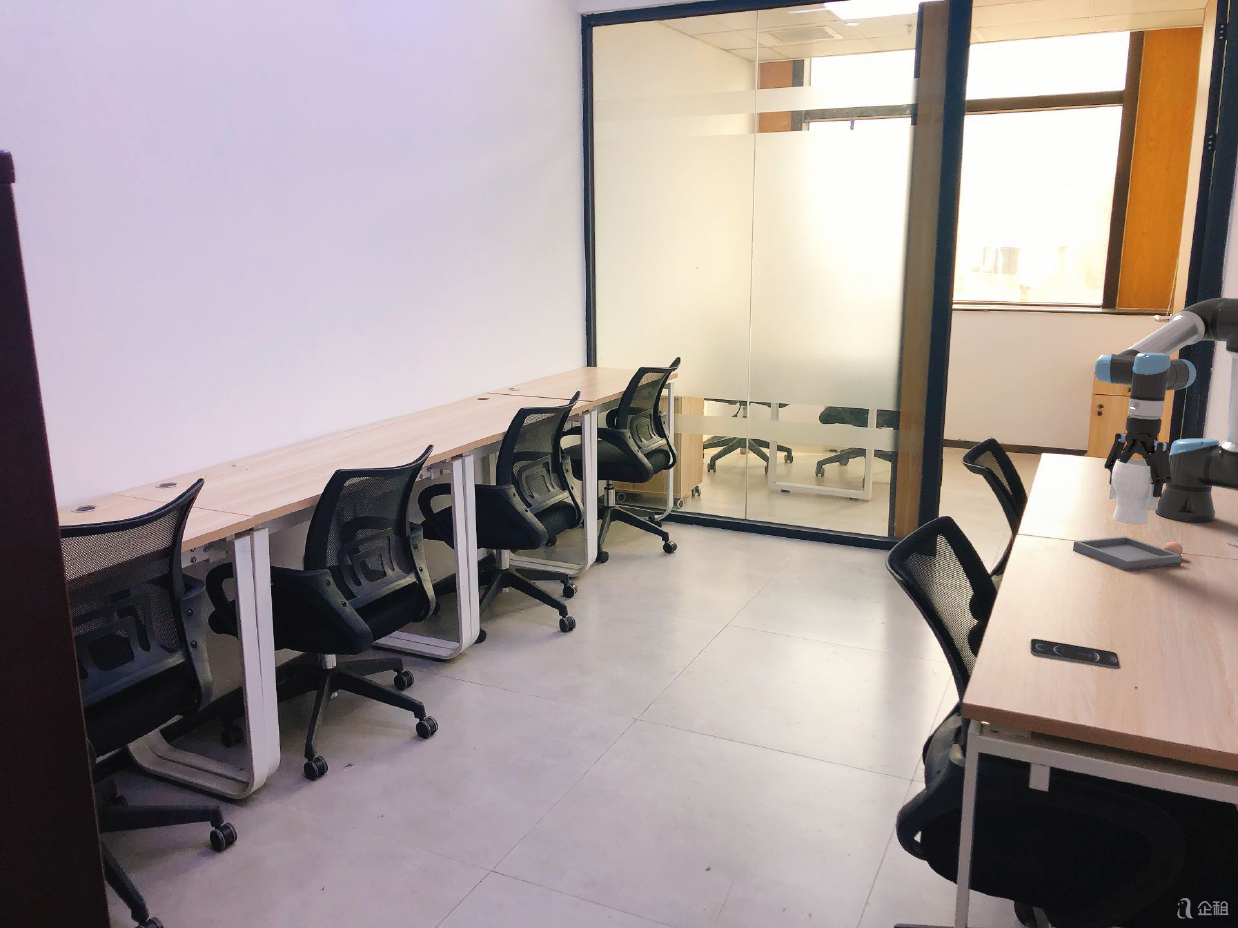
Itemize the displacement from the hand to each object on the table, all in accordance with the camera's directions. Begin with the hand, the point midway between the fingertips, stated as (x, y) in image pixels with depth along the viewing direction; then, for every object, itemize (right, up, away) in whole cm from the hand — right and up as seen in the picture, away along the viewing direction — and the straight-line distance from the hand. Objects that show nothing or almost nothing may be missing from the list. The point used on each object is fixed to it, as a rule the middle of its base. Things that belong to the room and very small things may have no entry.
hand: (1132, 503), depth 231 cm
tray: (0, -14, +3) cm, 14 cm away
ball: (+12, -14, +4) cm, 19 cm away
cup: (0, -4, +1) cm, 5 cm away
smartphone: (-42, -27, -56) cm, 75 cm away
